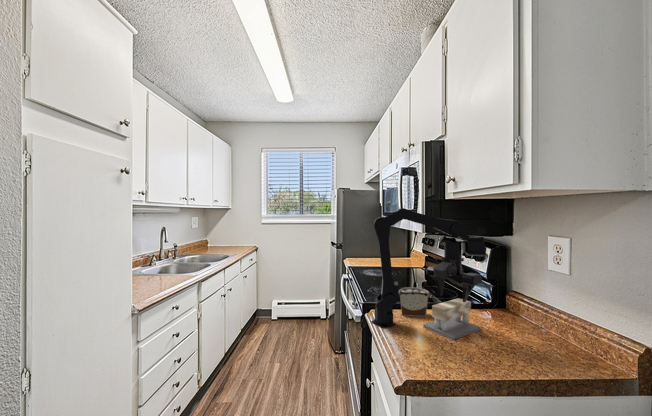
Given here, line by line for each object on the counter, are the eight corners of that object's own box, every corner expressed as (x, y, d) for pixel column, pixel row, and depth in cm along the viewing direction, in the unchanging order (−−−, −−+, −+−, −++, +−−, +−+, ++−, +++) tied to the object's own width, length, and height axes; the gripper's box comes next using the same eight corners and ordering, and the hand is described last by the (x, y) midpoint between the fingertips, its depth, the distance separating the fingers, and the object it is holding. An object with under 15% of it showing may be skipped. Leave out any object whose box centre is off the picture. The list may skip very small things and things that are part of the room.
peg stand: (423, 327, 108) (423, 313, 108) (450, 318, 117) (450, 306, 117) (453, 340, 98) (453, 324, 98) (480, 329, 107) (480, 315, 107)
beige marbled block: (458, 308, 114) (458, 298, 114) (470, 312, 110) (470, 301, 110) (432, 316, 105) (432, 305, 105) (444, 321, 101) (444, 309, 101)
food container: (426, 311, 125) (426, 287, 125) (429, 316, 119) (430, 291, 119) (395, 310, 126) (396, 286, 126) (398, 315, 120) (398, 290, 120)
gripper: (417, 253, 111) (416, 295, 111) (464, 261, 95) (463, 310, 95) (436, 251, 117) (435, 291, 117) (483, 258, 101) (482, 304, 101)
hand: (452, 298), depth 107 cm, fingers open, 9 cm apart
